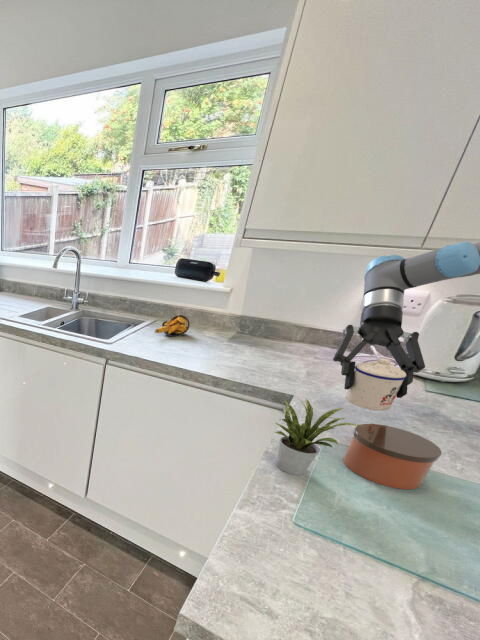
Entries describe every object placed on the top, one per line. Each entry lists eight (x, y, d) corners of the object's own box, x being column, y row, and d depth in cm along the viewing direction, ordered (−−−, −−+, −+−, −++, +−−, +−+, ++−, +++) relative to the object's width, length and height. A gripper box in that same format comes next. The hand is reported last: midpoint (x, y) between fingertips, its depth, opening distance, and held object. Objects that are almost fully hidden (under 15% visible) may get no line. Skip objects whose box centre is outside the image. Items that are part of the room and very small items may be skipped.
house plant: (342, 470, 93) (372, 405, 86) (332, 498, 84) (365, 429, 77) (267, 444, 102) (289, 384, 95) (252, 468, 93) (275, 404, 86)
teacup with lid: (387, 415, 97) (408, 369, 92) (338, 402, 103) (355, 358, 98) (397, 400, 104) (417, 357, 99) (350, 389, 110) (367, 347, 105)
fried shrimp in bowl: (198, 324, 179) (183, 318, 166) (180, 344, 184) (164, 340, 171) (182, 312, 184) (166, 305, 171) (164, 332, 189) (147, 327, 177)
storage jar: (410, 463, 95) (427, 433, 92) (434, 498, 84) (454, 465, 81) (335, 447, 101) (348, 418, 98) (348, 477, 90) (364, 446, 87)
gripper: (430, 325, 104) (426, 406, 98) (322, 314, 114) (312, 387, 108) (450, 308, 98) (447, 395, 92) (333, 298, 107) (324, 376, 101)
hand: (374, 391), depth 100 cm, fingers closed on teacup with lid, 9 cm apart
